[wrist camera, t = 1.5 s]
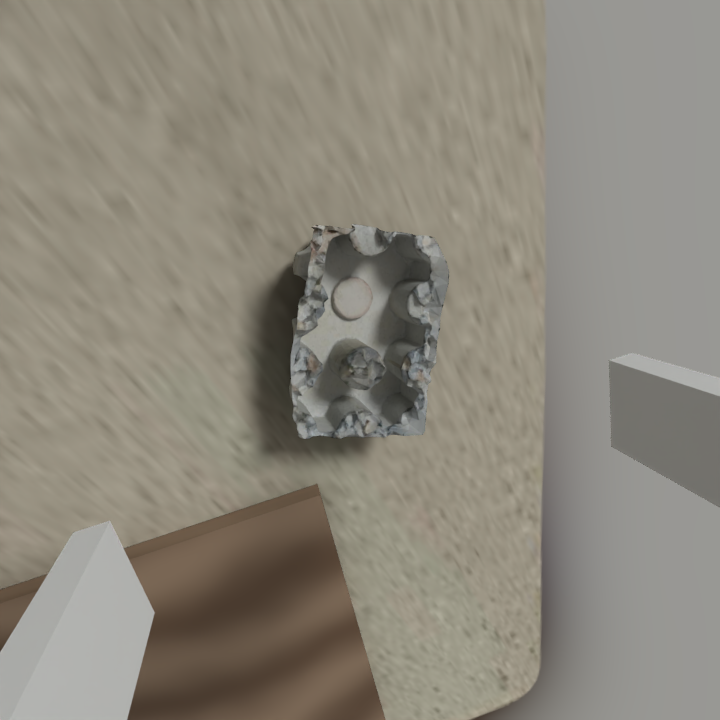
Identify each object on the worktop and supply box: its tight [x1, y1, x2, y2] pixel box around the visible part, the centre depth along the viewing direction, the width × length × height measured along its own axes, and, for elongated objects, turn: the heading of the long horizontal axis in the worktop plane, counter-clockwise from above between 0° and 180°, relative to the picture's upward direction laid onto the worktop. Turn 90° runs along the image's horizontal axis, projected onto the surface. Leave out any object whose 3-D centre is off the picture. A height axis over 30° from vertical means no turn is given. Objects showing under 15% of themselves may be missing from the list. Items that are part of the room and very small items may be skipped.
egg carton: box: [289, 224, 449, 439], centre depth 22 cm, size 11×8×4 cm
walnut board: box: [0, 484, 385, 720], centre depth 28 cm, size 22×20×1 cm
